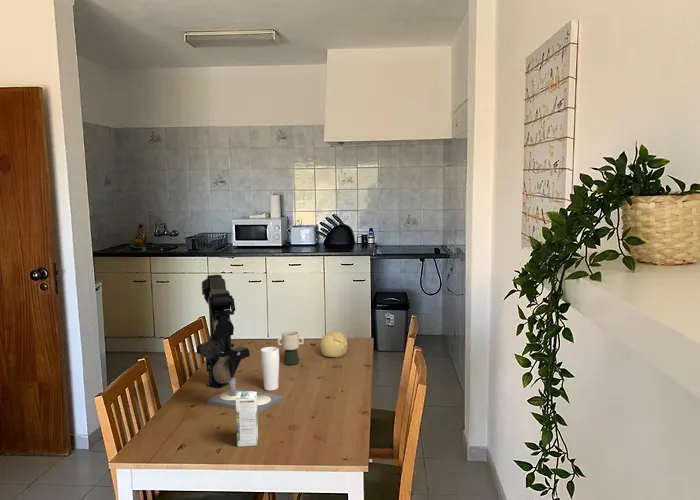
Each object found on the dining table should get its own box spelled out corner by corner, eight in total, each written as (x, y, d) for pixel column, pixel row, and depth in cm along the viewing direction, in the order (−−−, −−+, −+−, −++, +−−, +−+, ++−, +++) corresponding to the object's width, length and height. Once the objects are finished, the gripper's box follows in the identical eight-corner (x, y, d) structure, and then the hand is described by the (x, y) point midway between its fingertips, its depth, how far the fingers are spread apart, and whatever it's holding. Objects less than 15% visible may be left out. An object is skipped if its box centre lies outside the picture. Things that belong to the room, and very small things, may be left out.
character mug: (304, 360, 245) (303, 330, 243) (304, 365, 238) (303, 334, 236) (278, 361, 244) (277, 331, 243) (278, 366, 237) (276, 336, 235)
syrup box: (239, 438, 171) (236, 391, 169) (259, 437, 171) (256, 390, 170) (236, 447, 165) (234, 398, 164) (257, 446, 166) (255, 397, 164)
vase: (238, 378, 194) (237, 353, 193) (227, 385, 188) (226, 360, 187) (221, 376, 197) (219, 352, 196) (209, 383, 190) (208, 358, 189)
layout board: (207, 403, 199) (206, 382, 198) (233, 390, 211) (232, 370, 210) (258, 414, 189) (257, 392, 188) (282, 399, 201) (282, 379, 200)
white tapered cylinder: (277, 392, 208) (275, 352, 206) (259, 391, 209) (257, 351, 207) (283, 385, 214) (281, 347, 213) (265, 385, 216) (264, 346, 214)
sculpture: (347, 359, 245) (347, 334, 244) (319, 359, 245) (318, 335, 244) (348, 351, 256) (347, 328, 255) (321, 352, 256) (320, 328, 255)
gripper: (183, 332, 188) (186, 378, 190) (226, 339, 178) (229, 387, 180) (207, 324, 197) (209, 368, 199) (249, 331, 188) (251, 376, 190)
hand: (224, 375), depth 192 cm, fingers closed on vase, 7 cm apart
